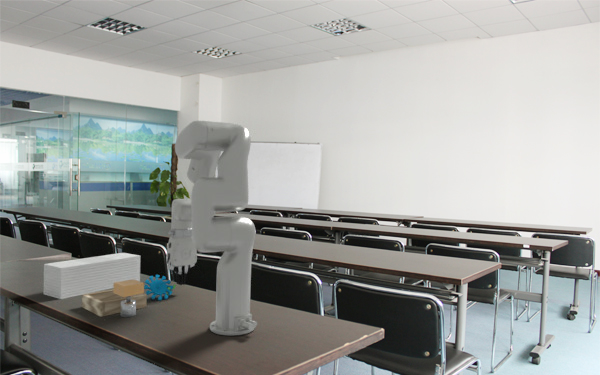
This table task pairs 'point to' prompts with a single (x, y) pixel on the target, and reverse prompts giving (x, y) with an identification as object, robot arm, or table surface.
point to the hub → (128, 288)
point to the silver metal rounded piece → (128, 307)
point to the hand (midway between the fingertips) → (180, 284)
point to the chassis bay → (108, 302)
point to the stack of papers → (89, 274)
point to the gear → (159, 287)
